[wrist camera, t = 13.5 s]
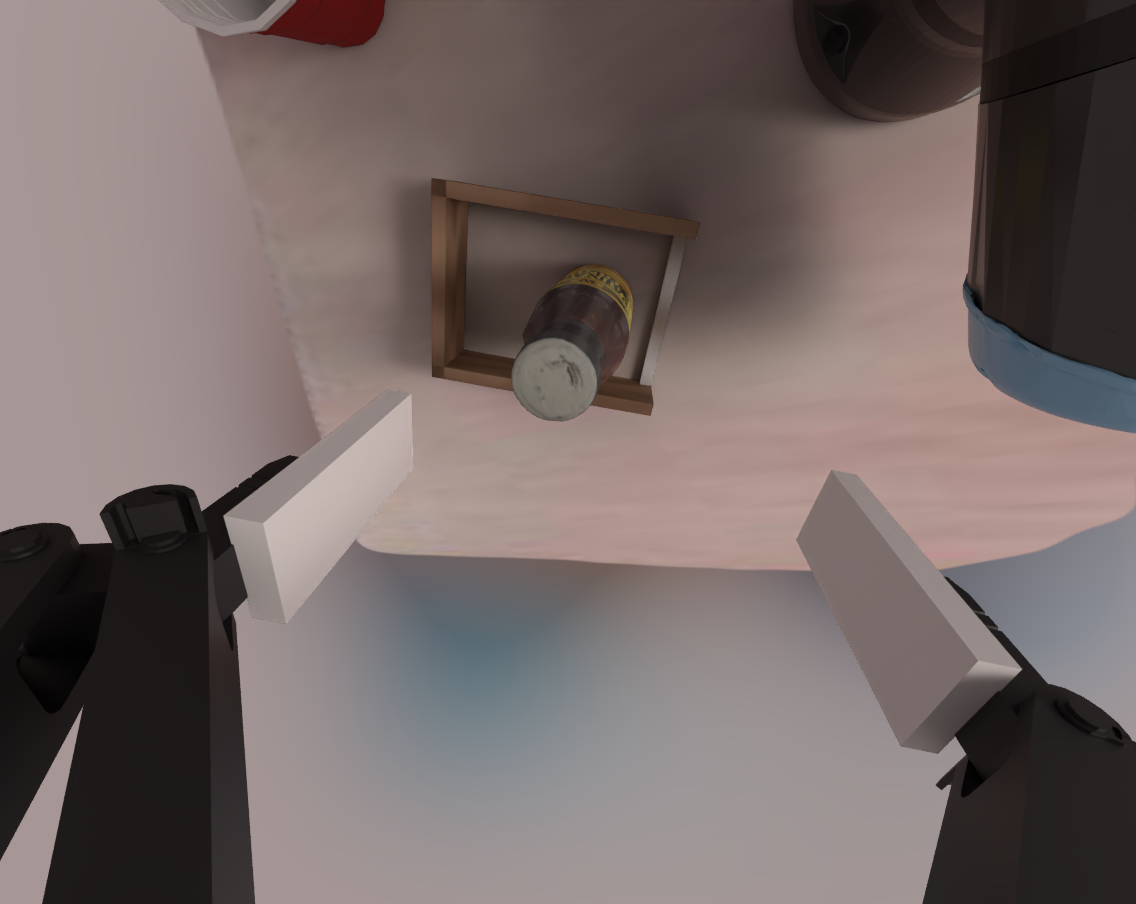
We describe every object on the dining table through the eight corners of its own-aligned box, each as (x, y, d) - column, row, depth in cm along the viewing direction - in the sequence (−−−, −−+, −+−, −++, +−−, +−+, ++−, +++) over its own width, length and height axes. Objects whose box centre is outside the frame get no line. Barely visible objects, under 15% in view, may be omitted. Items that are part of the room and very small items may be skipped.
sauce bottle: (640, 269, 36) (654, 328, 19) (623, 346, 39) (621, 457, 22) (559, 254, 36) (499, 297, 19) (548, 331, 39) (487, 430, 22)
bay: (456, 181, 35) (431, 178, 30) (690, 220, 34) (700, 222, 30) (452, 358, 41) (432, 376, 37) (648, 393, 41) (650, 415, 37)
